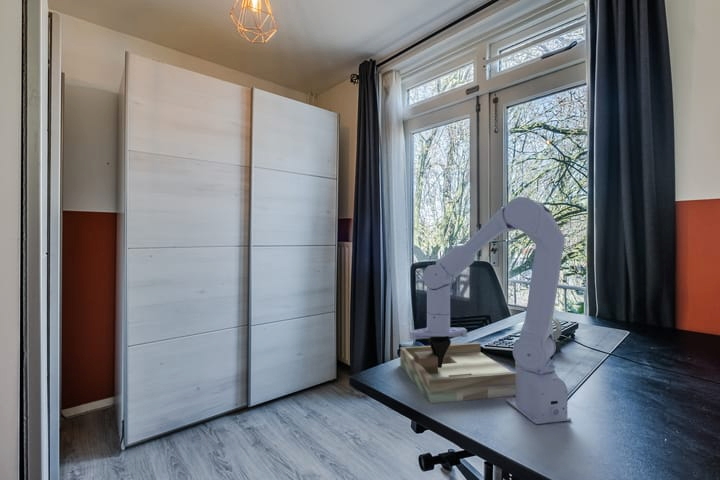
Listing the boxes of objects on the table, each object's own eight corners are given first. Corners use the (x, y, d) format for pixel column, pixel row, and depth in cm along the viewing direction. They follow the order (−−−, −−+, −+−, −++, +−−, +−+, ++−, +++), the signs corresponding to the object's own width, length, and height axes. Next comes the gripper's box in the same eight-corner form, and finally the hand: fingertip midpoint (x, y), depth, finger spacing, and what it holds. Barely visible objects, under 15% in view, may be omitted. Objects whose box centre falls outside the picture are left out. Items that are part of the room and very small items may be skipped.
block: (437, 373, 81) (437, 357, 81) (420, 374, 80) (420, 358, 80) (430, 366, 86) (430, 351, 86) (414, 367, 85) (414, 352, 85)
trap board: (529, 394, 76) (529, 372, 76) (430, 403, 72) (430, 380, 71) (478, 359, 97) (478, 342, 97) (400, 365, 93) (400, 347, 93)
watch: (543, 344, 111) (543, 312, 111) (565, 352, 103) (566, 317, 103) (530, 347, 109) (530, 313, 109) (553, 355, 101) (553, 319, 101)
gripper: (457, 308, 89) (457, 358, 89) (405, 310, 86) (405, 362, 86) (471, 314, 82) (471, 368, 82) (415, 316, 79) (415, 373, 79)
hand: (438, 366), depth 84 cm, fingers closed
